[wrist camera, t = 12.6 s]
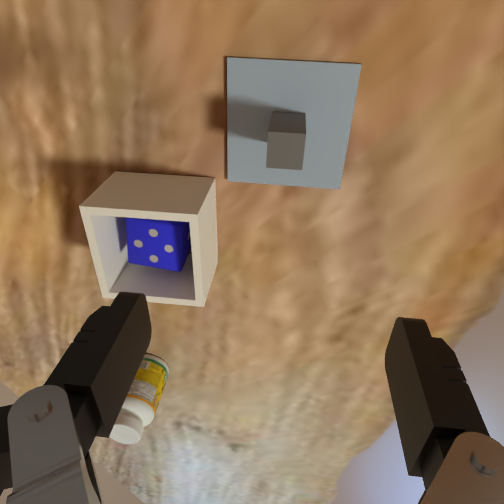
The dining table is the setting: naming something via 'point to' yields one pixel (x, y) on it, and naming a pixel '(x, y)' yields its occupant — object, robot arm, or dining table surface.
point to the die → (158, 243)
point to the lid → (289, 120)
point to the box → (159, 208)
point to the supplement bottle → (141, 400)
